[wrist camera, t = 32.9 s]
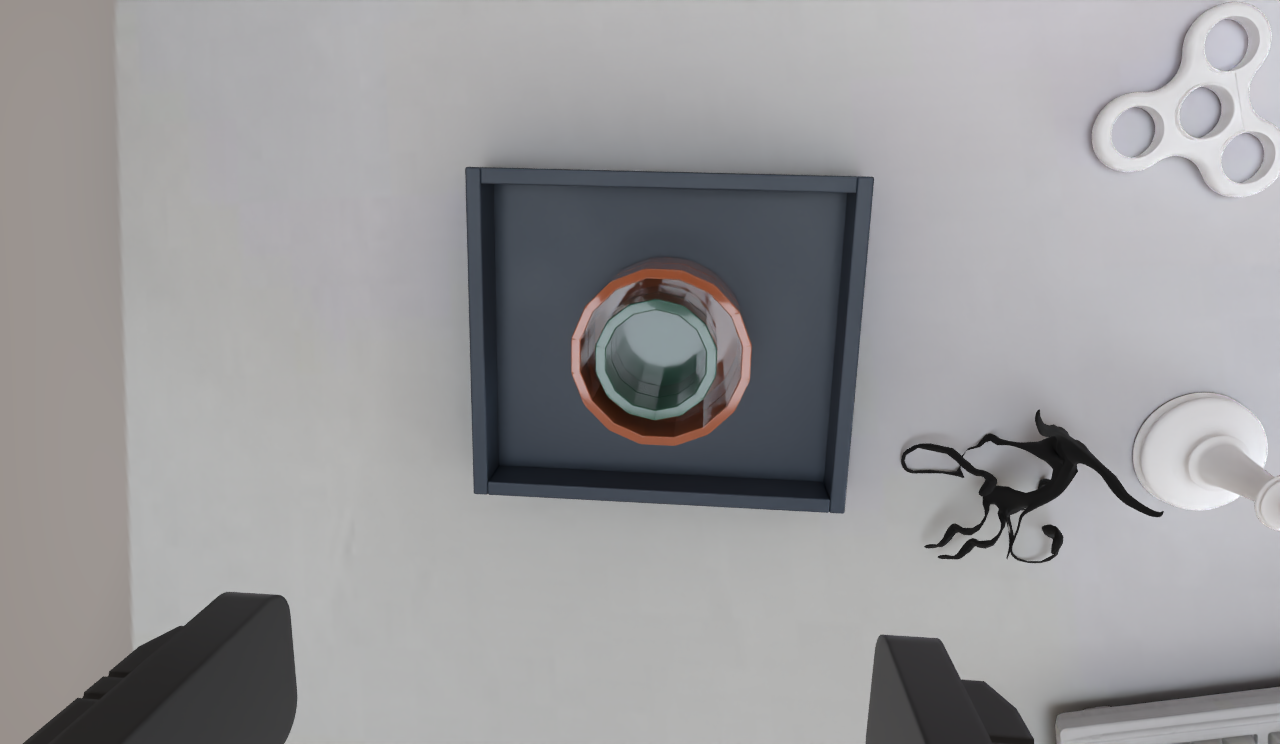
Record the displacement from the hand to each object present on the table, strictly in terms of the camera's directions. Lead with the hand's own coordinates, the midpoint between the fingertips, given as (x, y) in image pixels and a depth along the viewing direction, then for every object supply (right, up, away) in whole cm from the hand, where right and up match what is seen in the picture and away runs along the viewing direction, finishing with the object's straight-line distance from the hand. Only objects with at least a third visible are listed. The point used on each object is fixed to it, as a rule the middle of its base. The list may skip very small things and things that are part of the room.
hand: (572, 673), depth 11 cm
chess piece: (+24, +1, +23) cm, 33 cm away
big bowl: (+2, +6, +23) cm, 24 cm away
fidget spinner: (+21, +14, +20) cm, 32 cm away
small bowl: (+2, +5, +22) cm, 23 cm away
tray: (+2, +6, +23) cm, 24 cm away
